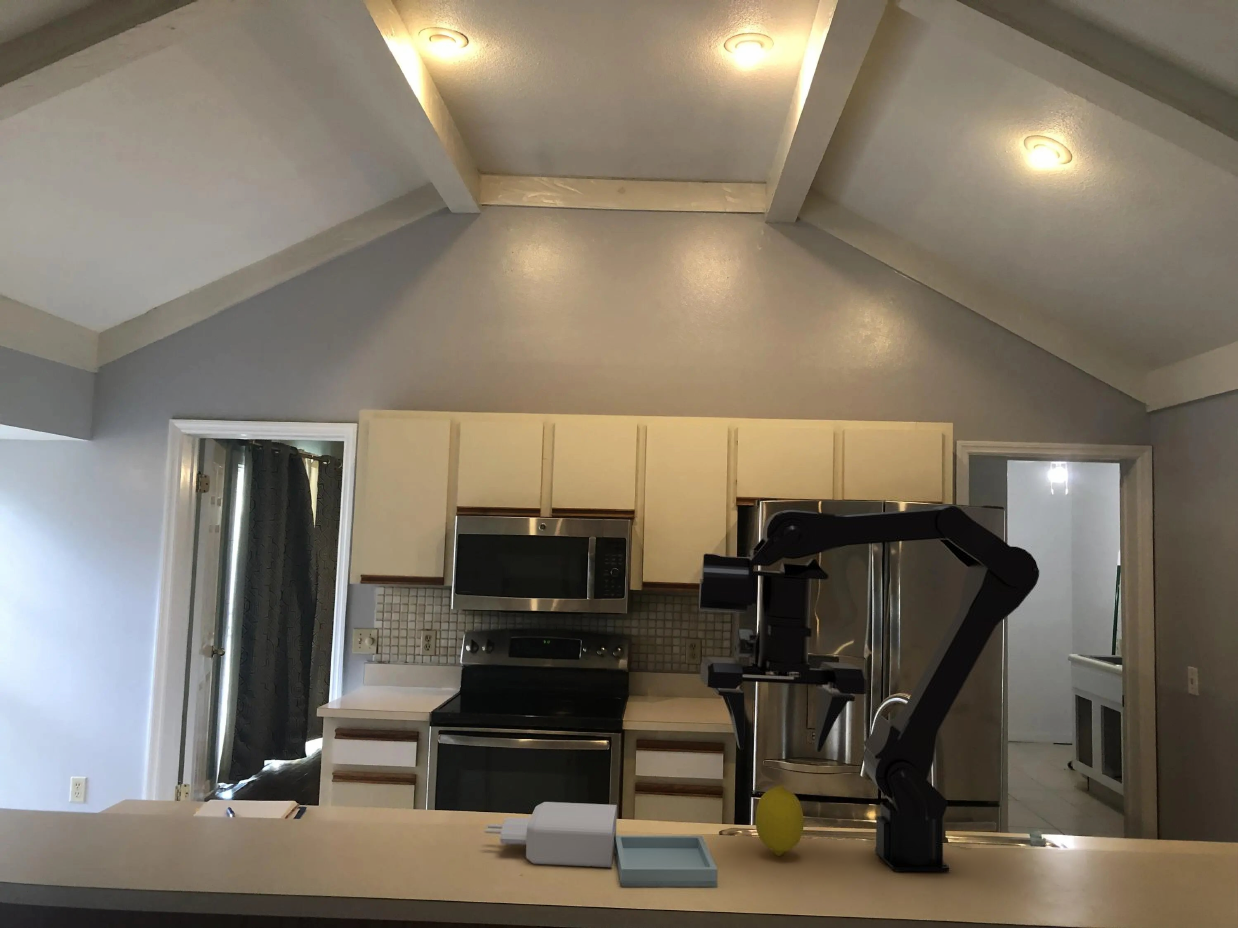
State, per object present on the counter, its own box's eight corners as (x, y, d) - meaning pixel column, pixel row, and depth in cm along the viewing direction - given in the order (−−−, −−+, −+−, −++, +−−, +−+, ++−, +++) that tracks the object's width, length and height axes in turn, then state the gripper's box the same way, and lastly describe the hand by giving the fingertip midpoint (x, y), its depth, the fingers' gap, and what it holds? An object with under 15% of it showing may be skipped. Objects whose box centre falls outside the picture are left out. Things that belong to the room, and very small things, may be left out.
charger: (493, 836, 109) (616, 841, 108) (477, 864, 99) (611, 871, 99) (494, 796, 109) (617, 801, 108) (478, 821, 100) (612, 827, 99)
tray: (701, 851, 105) (702, 835, 105) (717, 886, 95) (717, 869, 95) (614, 851, 104) (615, 835, 104) (620, 886, 94) (621, 869, 94)
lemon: (800, 848, 107) (801, 779, 107) (805, 865, 101) (806, 793, 102) (753, 845, 107) (754, 777, 108) (756, 862, 102) (757, 790, 102)
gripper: (839, 612, 115) (834, 735, 114) (695, 605, 113) (689, 730, 112) (870, 622, 104) (865, 759, 103) (712, 614, 102) (705, 753, 101)
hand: (779, 749), depth 105 cm, fingers open, 9 cm apart
